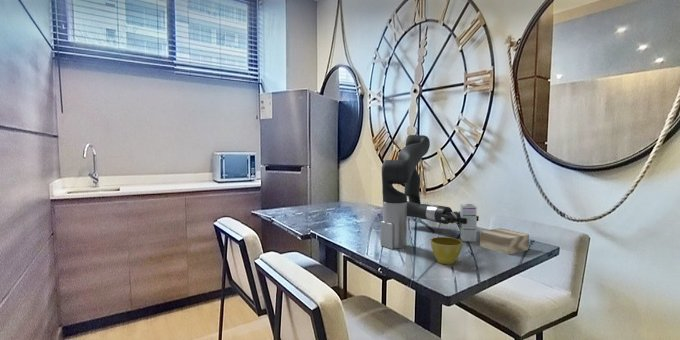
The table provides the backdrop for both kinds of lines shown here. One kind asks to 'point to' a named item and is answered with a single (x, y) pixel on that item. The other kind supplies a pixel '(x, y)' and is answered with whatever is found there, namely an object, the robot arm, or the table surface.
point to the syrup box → (468, 222)
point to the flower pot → (446, 249)
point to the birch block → (504, 240)
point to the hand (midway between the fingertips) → (472, 220)
